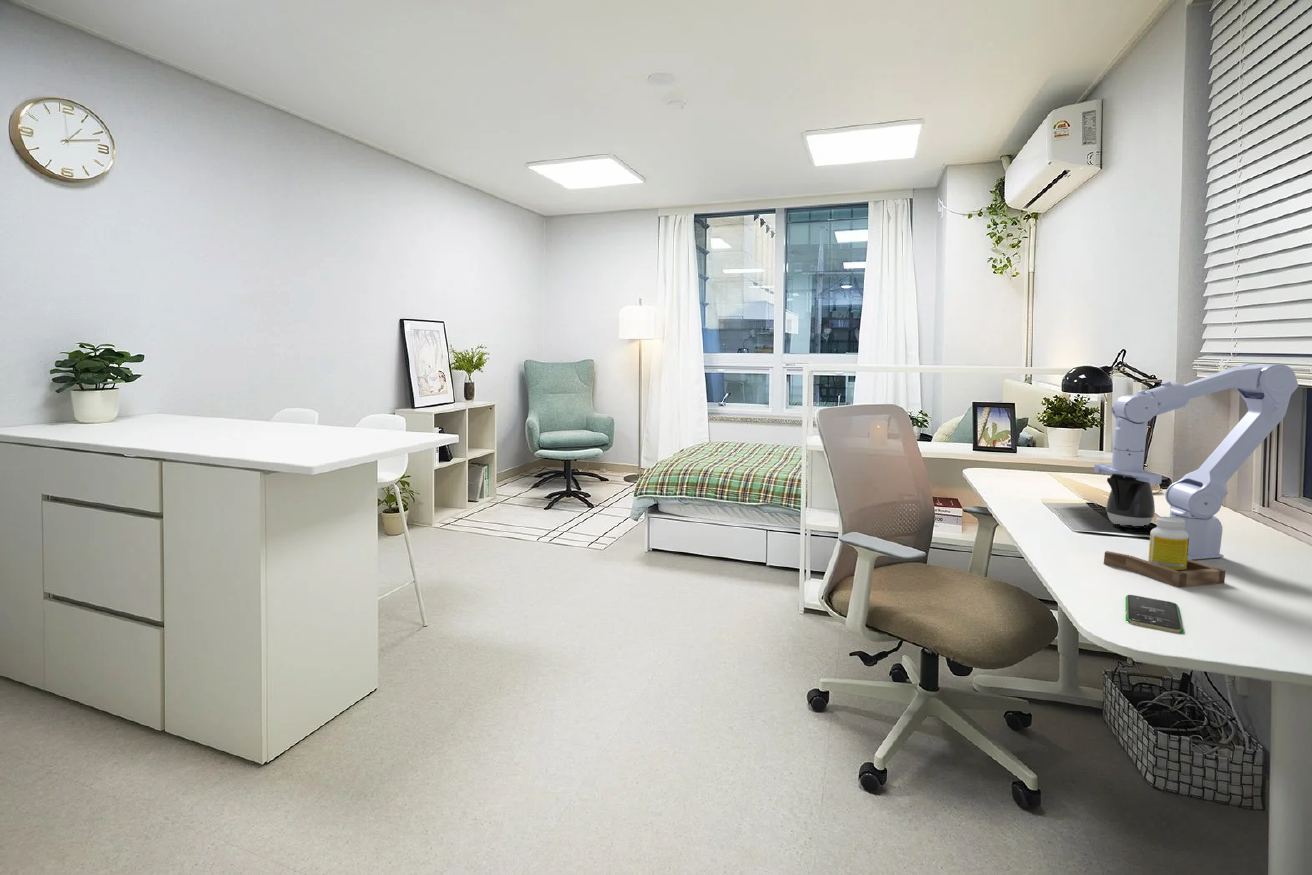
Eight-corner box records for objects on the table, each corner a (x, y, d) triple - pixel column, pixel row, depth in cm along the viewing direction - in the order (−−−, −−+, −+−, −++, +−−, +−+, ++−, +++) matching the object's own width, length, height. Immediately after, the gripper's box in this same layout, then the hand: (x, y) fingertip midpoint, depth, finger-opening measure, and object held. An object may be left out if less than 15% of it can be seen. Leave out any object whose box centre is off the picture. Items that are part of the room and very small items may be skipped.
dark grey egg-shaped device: (1117, 530, 166) (1123, 471, 164) (1097, 520, 176) (1102, 464, 174) (1162, 532, 164) (1168, 472, 162) (1139, 522, 175) (1145, 465, 173)
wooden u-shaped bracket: (1156, 558, 144) (1157, 547, 144) (1231, 582, 129) (1233, 569, 129) (1100, 562, 140) (1101, 551, 140) (1171, 587, 126) (1172, 575, 125)
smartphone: (1178, 602, 117) (1184, 631, 105) (1177, 607, 117) (1183, 636, 105) (1125, 593, 121) (1126, 619, 109) (1125, 598, 121) (1125, 624, 109)
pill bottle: (1194, 577, 131) (1198, 522, 130) (1160, 577, 132) (1164, 522, 130) (1173, 567, 137) (1176, 515, 136) (1141, 567, 138) (1144, 515, 136)
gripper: (1085, 445, 153) (1080, 503, 154) (1145, 455, 139) (1139, 518, 140) (1110, 444, 154) (1105, 501, 156) (1172, 454, 140) (1165, 516, 142)
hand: (1122, 509), depth 148 cm, fingers closed
